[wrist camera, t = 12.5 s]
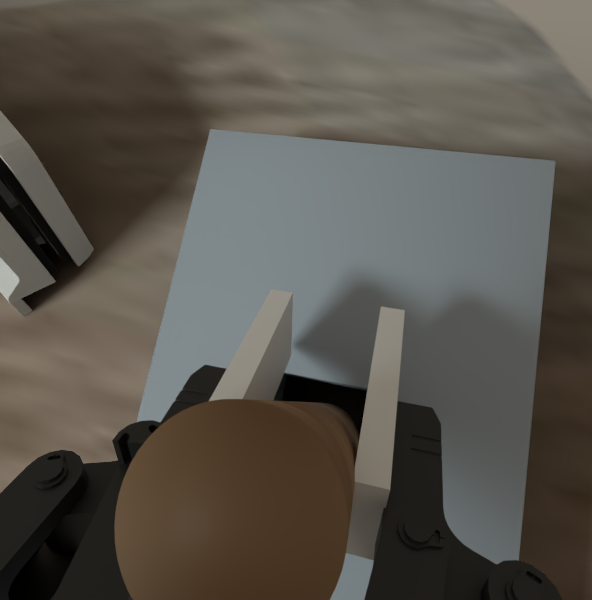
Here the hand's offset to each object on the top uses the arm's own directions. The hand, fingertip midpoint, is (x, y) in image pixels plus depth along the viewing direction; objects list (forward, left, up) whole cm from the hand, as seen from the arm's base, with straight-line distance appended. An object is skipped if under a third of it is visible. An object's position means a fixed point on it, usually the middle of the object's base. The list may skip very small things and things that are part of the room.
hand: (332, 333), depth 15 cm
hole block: (0, -4, -6) cm, 7 cm away
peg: (0, -4, -4) cm, 5 cm away
